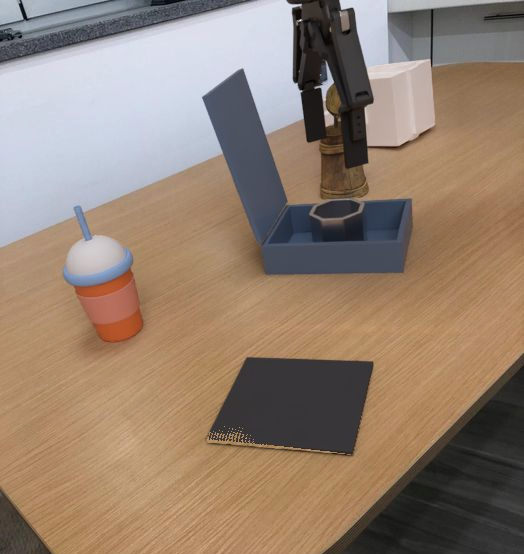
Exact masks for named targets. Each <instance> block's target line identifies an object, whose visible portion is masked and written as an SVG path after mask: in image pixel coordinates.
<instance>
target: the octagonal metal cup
mask: <svg viewBox="0 0 524 554" xmlns="http://www.w3.org/2000/svg"><path fill="white" fill-rule="evenodd" d="M361 201H362V200H359V199H357V198H339V199H326V200H325V201H322V202H318V203H319V204H317V205H314V206H313V208H312V210H311V211H310V213H309V219H310V226H311V233H312V241H313V242H342V241H368V238H367V225H366V212H365V203H364V202H361Z"/></svg>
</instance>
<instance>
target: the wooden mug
mask: <svg viewBox="0 0 524 554" xmlns="http://www.w3.org/2000/svg"><path fill="white" fill-rule="evenodd" d="M325 98H326V109H327V111H328V112H329V113H330V114H331V115H332V116H333V117H334V125H332V127H330V128H326V134H327V138H326V139H322V140H319V144H318V145H319V146H318V148H319V149H318V151H319V152H320V183H319V193H320V194H319V195H320V197H321V199H323V200H330V199H339V198H354V199H358V198H360V197H363V196H365V195H366V194H368V192H369V183H368V178H367V176H366V175H365V171H364V165H360V166H357V167H353V168H349V169H347V168H345V161H344V150H343V140H342V130H341V119H340V114H339V113H338V109H339V107H340V105H342V104H341V101H340V98H339V95H338V92H337V90H336V87H335V84H334V82H333V83H332V84H331V85H330V86H329V88H328V89H327V90H326V94H325Z"/></svg>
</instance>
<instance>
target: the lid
mask: <svg viewBox="0 0 524 554" xmlns="http://www.w3.org/2000/svg"><path fill="white" fill-rule="evenodd" d="M201 99H202V101H203V104H204V107H205V110H206V112H207V114H208V115H207V116H208V118H209V120H210V122H211V123H210V124H211V126H212V128H213V131H214V134H215V136H216V138H217V141H218V144H219V147H220V149H221V153H222V154H223V157H224V160H225V162H226V165H227V168H228V170H229V173H230V175H231V178H232V180H233V181H232V182H233V184H234V186H235V190H236V191H237V194H238V197H239V200H240V202H241V204H242V205H241V206H242V208H243V210H244V213H245V215H246V218H247V221H248V223H249V226H250V229H251V231H252V234H253V236H254V239H255V242H256V244H262V243H263V242H264V240H265V239H266V237H267V235H268V234H269V232H270V230H271V229H272V227H273V226H274V224H275V222H276V221H277V219H278V218H279V216H280V214H281V213H282V211H283V209H284V208H285V206H286V205H288V202H289V200H288V198H287V194H286V190H285V189H284V185H283V183H282V180H281V177H280V174H279V171H278V168H277V164H276V162H275V159H274V155H273V153H272V150H271V146H270V144H269V141H268V138H267V134H266V132H265V129H264V126H263V123H262V120H261V118H260V117H261V116H260V114H259V111H258V107H257V106H256V102H255V99H254V97H253V93H252V90H251V87H250V84H249V81H248V79H247V75H246V72H245V69H244V68H243V67H242V68H239V69H237V70H236V71H235V72H233V73H232V74H231V75H229V76H228V77H226V78H225V79H224V80H223V81H221V82H220V83H219V84H217V85H216V86H215V87H213V88H212V89H210V90H209V91H208V92H207V93H205V94H204V95H202V96H201Z"/></svg>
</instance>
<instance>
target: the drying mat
mask: <svg viewBox="0 0 524 554" xmlns="http://www.w3.org/2000/svg"><path fill="white" fill-rule="evenodd" d="M374 364H375V363H374V361H373V360H372V361H370V360H347V359H346V360H343V359H341V360H340V359H316V358H315V359H314V358H288V357H287V358H286V357H258V356H257V357H256V356H255V357H254V356H247V357H246V358H245V360H244V361H243V364H242V366H241V368H240V369H239V372H238V374H237V376H236V378H235V379H234V381H233V384H232V386H231V388H230V390H229V392H228V393H227V395H226V398H225V399H224V400H223V401H224V402H223V403H222V405H221V407H220V410H219V411H218V414H217V416H216V417H215V419H214V421H213V423H212V425H211V427H210V429H209V432H211V433H213V435H212V434H211V433H210V436H209V440H210V438H211V435H212V438H211V439H212V440H213V439H214V440H218V441H219V439H220V440H221V441H222V440H223V441H225V438H226V437H225V436H226V435H227V433H228V435H227V439H226V441H227V440H228V439H229V438H228V437H229V434H230V433H231V435H232V434H234V436H235V435H236V434H235V433H237V432H238V434H237V438H236V442H238V436H239V433H241V435H240V439H239V442H241V443H242V441H241V440H242V439H243V442H244V443H246V442H247V443H249V442H248V441H249V440H250V443H252V442H253V441H254V442H253V443H255V444H261V445H262V444H264V445H266V444H267V445H274V446H284V447H293V448H301V449H311V450H320V451H330V452H337V453H345V454H353V455H354V453H353V451H354V452H355V449H354V447H355V448H356V445H355V442H356V443H357V440H356V438H358V436H357V434H358V435H359V431H358V429H359V430H360V427H359V425H360V426H361V423H360V420H361V421H362V418H361V416H362V417H363V414H362V412H363V413H364V410H363V407H364V408H365V405H364V403H365V404H366V401H365V399H366V400H367V396H368V392H367V390H368V391H369V388H368V386H369V387H370V383H371V379H370V378H372V374H373V370H374ZM369 382H370V383H369ZM366 395H367V396H366ZM224 426H225V427H224ZM239 427H240V428H239ZM229 428H230V429H229ZM232 428H233V430H232ZM242 428H243V429H242ZM235 429H236V430H235ZM219 430H220V431H219ZM238 430H239V431H238ZM213 431H214V432H213ZM222 431H223V432H222ZM228 431H229V432H228ZM231 431H232V432H231ZM240 431H242V432H240ZM209 432H208V434H209ZM215 432H216V435H217V433H219V435H218V438H217V436H216V435H214V434H215ZM233 432H235V433H233ZM221 433H222V435H223V434H225V435H224V438H223V439H222V437H223V436H222V435H221V438H219V436H220V434H221ZM208 434H207V435H206V437H207V436H208ZM242 434H244V437H243V438H241V437H242V436H243V435H242ZM247 434H248V435H247ZM246 435H247V436H246ZM250 435H251V436H250ZM214 436H215V438H213V437H214ZM234 436H233V442H234V441H235V440H234V438H235V437H234ZM231 437H232V436H230V438H231ZM246 437H247V439H245V438H246ZM216 438H217V439H216ZM249 438H250V439H249ZM206 439H207V438H205V440H206ZM253 439H254V440H253ZM231 440H232V439H229V441H231ZM245 440H246V442H245ZM253 443H252V444H253Z"/></svg>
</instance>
